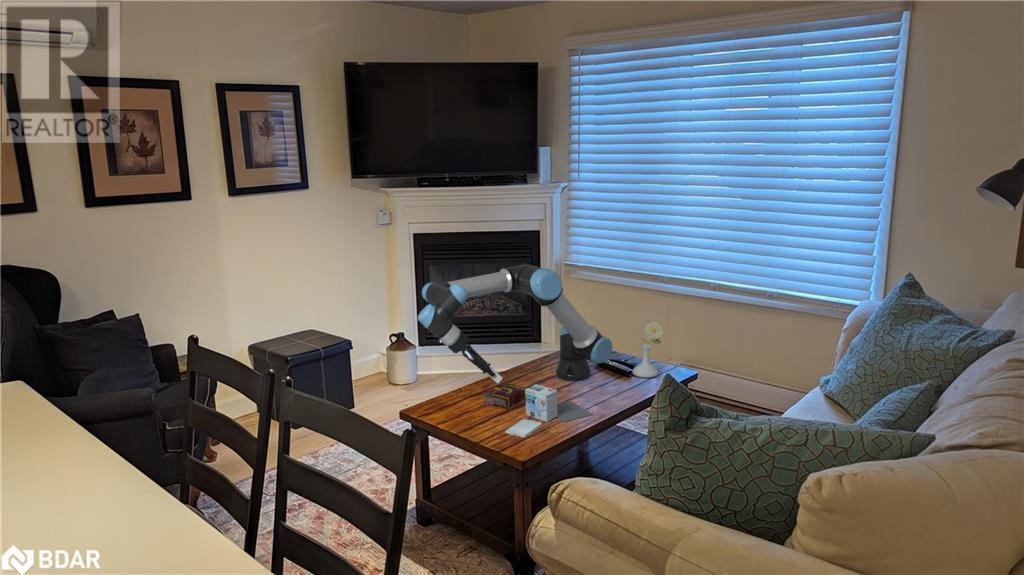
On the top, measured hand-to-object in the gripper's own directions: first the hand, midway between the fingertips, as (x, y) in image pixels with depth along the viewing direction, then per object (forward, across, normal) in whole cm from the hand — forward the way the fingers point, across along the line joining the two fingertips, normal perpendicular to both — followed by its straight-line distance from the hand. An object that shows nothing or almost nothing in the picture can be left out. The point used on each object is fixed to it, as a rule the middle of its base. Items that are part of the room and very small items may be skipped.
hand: (500, 380), depth 256 cm
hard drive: (+17, +9, -7) cm, 20 cm away
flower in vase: (+61, -38, +40) cm, 82 cm away
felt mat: (+30, -4, +8) cm, 31 cm away
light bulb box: (+23, -2, 0) cm, 23 cm away
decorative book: (+15, -19, -8) cm, 26 cm away
